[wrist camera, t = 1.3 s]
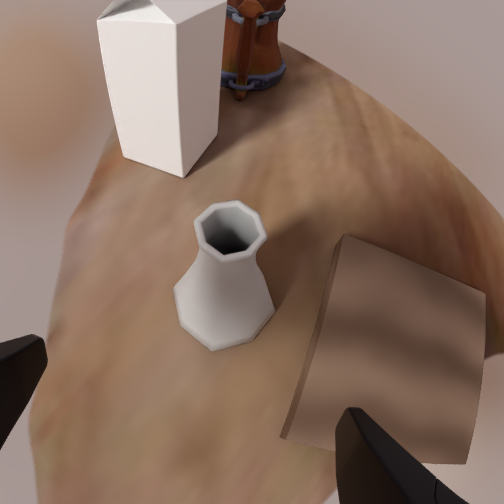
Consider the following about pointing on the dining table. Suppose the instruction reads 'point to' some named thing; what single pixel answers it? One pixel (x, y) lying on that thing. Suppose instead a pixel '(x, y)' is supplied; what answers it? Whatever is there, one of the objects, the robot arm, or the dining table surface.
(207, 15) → the milk carton
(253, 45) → the mug
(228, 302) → the flask
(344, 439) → the robot arm
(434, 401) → the walnut board
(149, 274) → the dining table surface
